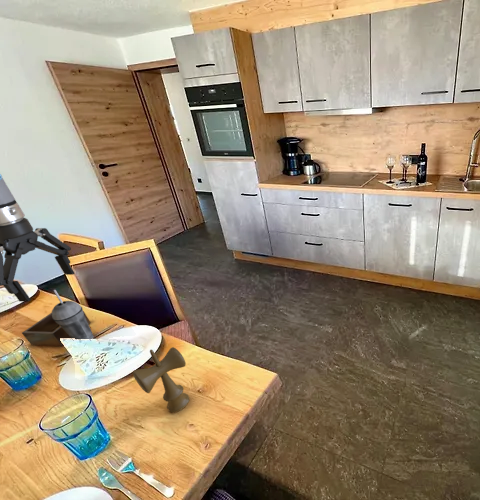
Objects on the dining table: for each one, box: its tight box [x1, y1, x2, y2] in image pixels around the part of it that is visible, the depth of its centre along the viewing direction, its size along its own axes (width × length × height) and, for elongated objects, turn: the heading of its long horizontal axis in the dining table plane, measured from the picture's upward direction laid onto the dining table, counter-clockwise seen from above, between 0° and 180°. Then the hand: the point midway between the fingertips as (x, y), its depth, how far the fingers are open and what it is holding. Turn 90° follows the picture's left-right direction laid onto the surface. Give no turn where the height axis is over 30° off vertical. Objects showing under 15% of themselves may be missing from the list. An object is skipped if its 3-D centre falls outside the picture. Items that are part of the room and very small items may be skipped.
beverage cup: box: [51, 289, 94, 340], centre depth 93 cm, size 7×7×20 cm
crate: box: [21, 310, 91, 347], centre depth 99 cm, size 11×11×6 cm
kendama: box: [132, 346, 190, 413], centre depth 70 cm, size 6×10×20 cm, turn 145°
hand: (49, 286), depth 87 cm, fingers open, 13 cm apart
